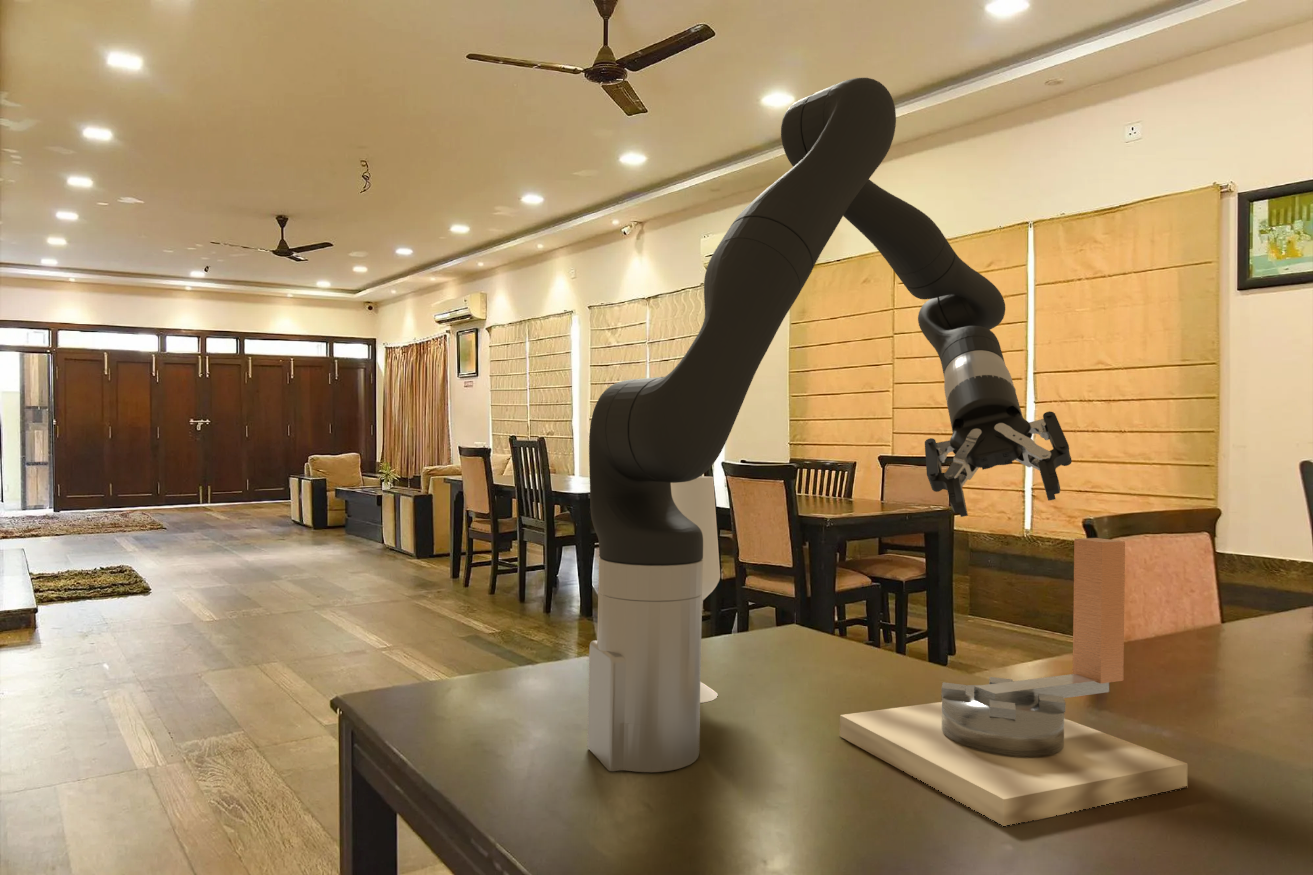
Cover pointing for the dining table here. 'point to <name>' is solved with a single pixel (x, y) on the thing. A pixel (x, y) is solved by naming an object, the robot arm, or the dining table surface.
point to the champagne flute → (700, 509)
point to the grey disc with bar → (1035, 707)
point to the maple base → (1013, 766)
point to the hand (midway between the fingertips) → (1006, 503)
